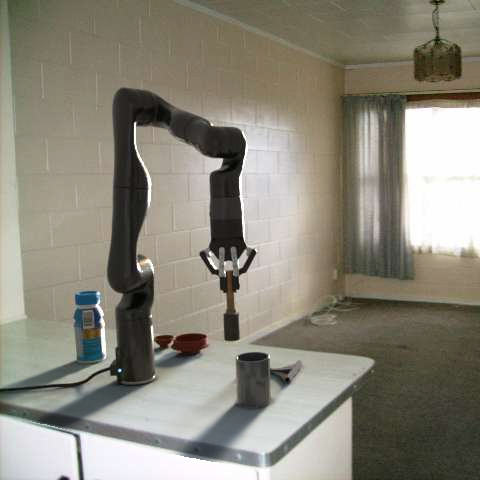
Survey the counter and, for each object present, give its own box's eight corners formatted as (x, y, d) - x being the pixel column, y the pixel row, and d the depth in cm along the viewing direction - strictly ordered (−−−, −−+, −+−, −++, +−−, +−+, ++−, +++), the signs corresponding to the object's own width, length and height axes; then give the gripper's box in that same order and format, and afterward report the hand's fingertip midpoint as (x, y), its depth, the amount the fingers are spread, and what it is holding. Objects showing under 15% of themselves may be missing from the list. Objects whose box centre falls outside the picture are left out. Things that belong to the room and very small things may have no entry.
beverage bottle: (69, 362, 184) (64, 294, 182) (90, 354, 192) (86, 289, 189) (92, 365, 181) (88, 296, 178) (112, 356, 189) (108, 290, 186)
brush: (223, 341, 144) (220, 272, 142) (224, 337, 148) (221, 269, 146) (239, 340, 144) (236, 271, 143) (240, 336, 148) (237, 268, 146)
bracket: (250, 364, 179) (250, 354, 179) (302, 366, 177) (302, 356, 176) (235, 381, 165) (234, 371, 165) (290, 384, 163) (290, 373, 162)
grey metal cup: (236, 409, 147) (234, 362, 145) (237, 396, 155) (236, 352, 153) (271, 407, 147) (269, 361, 146) (270, 394, 155) (269, 351, 154)
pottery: (192, 359, 184) (191, 345, 184) (142, 350, 195) (142, 336, 194) (218, 349, 194) (217, 335, 194) (169, 341, 205) (169, 327, 204)
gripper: (257, 214, 147) (260, 287, 149) (197, 216, 146) (201, 290, 148) (257, 216, 140) (260, 294, 142) (193, 218, 139) (197, 296, 141)
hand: (230, 291), depth 145 cm, fingers closed on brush, 2 cm apart
